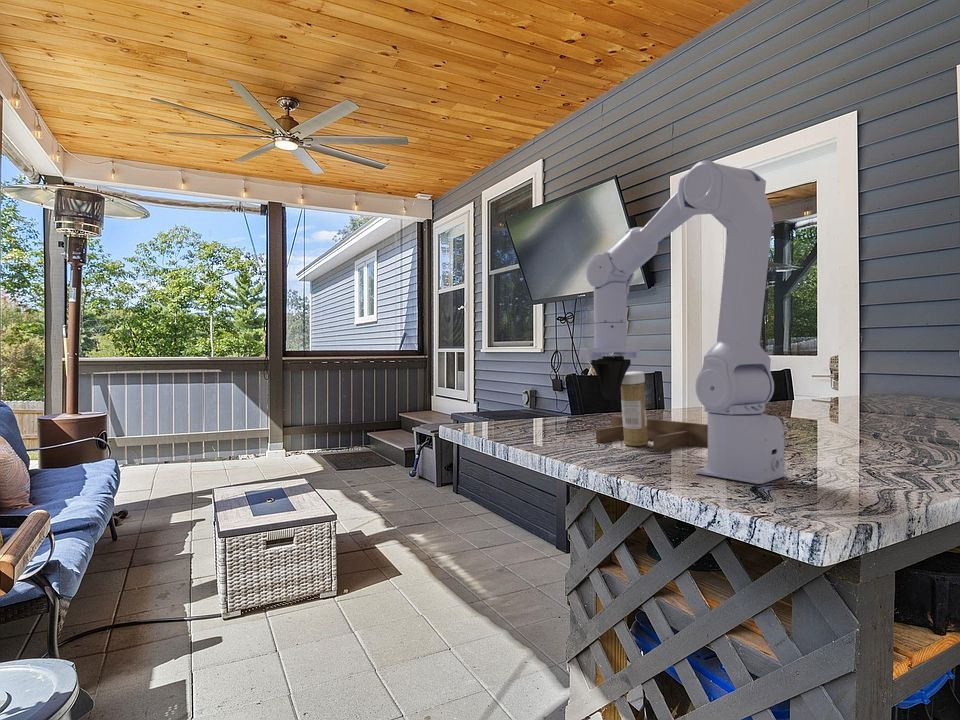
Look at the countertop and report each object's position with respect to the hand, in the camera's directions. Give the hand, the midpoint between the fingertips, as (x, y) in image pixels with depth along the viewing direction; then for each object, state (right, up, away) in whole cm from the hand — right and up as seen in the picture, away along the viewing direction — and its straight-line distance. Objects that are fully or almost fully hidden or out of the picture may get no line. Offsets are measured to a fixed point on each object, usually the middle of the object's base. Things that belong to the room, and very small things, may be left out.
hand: (611, 399), depth 105 cm
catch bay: (+7, -9, +6) cm, 13 cm away
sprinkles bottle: (+6, -9, +4) cm, 11 cm away
